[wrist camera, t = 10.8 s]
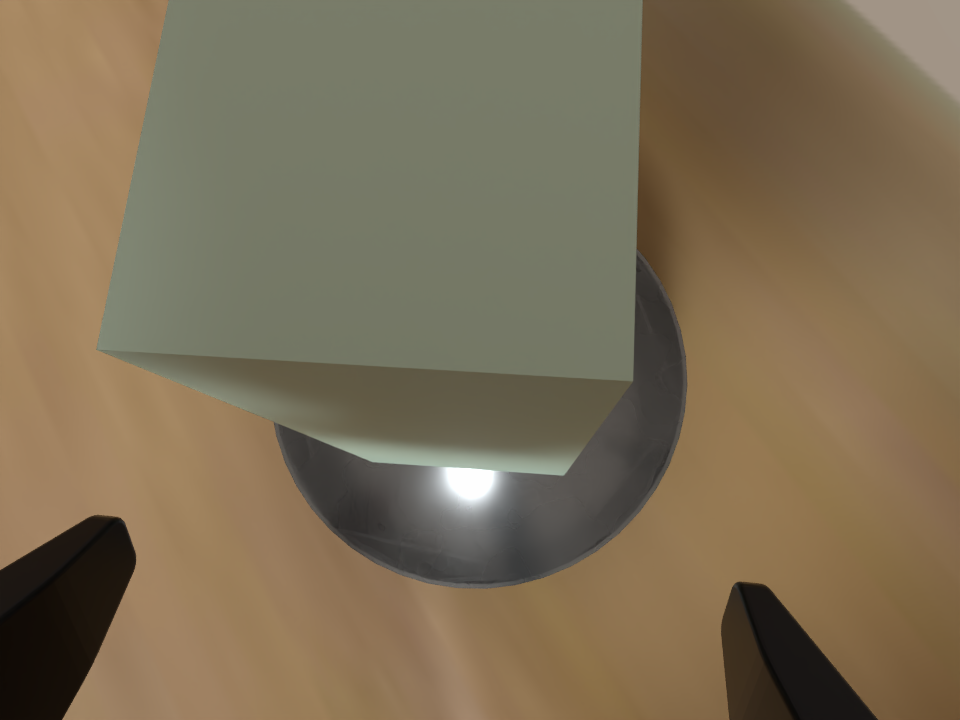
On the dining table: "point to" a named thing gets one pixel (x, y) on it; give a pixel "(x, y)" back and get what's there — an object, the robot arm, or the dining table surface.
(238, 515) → the dining table surface
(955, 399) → the dining table surface
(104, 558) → the robot arm
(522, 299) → the sage block
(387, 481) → the charcoal tin
